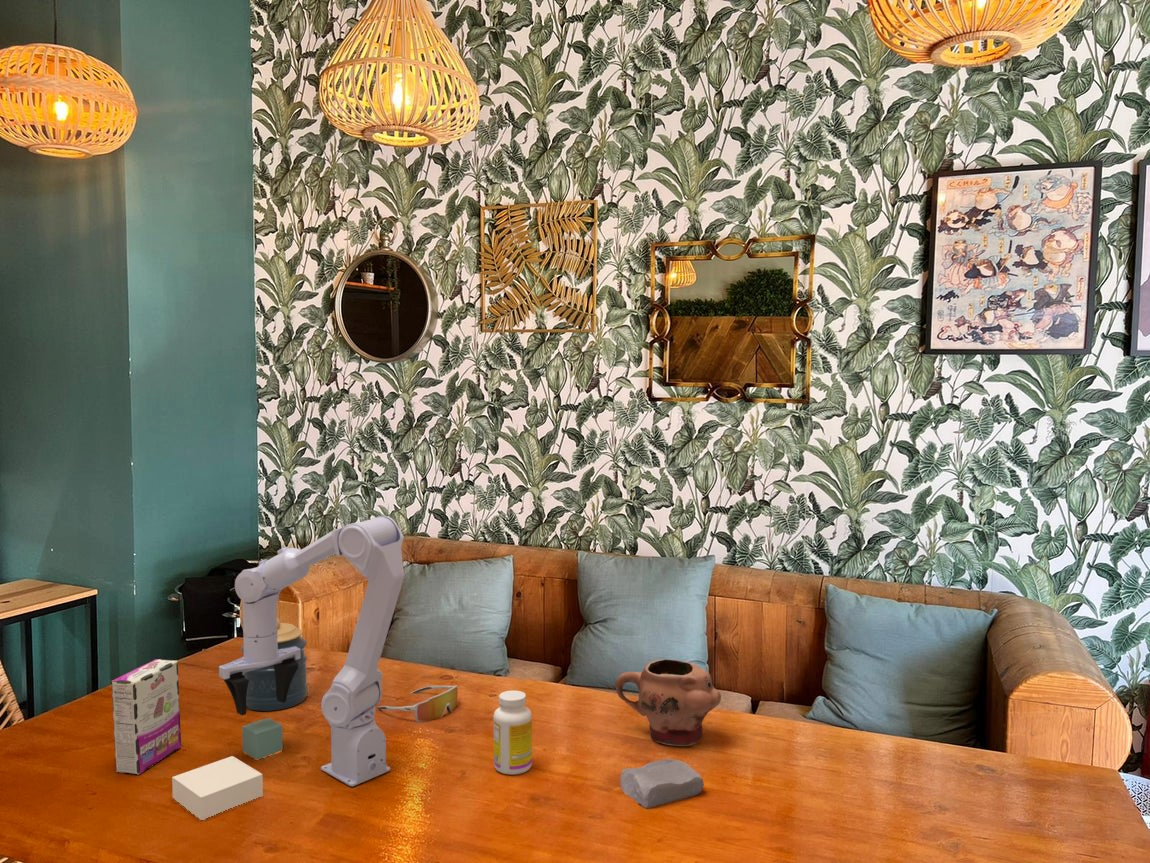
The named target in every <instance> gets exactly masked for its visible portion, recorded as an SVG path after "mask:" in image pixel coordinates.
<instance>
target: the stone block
mask: <svg viewBox="0 0 1150 863" xmlns="http://www.w3.org/2000/svg"><path fill="white" fill-rule="evenodd" d="M704 785H705V783H704V780H703V778H702V775H701V774H699V773H698V772H697V771H696V770H694V769H693V768H692V767H691V766H690V765H689V764H688V763H686V762H684V761H683V760H679V759H673V758H664V759H661V760H655V761H651V762H648V763H646V764H644V765H643V766H638V767H632V768H631V767H629V768H624V769H622V770H621V775H620V788H621V790H622V792H623V793H624V794H625V795H627V796H628V797H629V798H631V799H633V800H635V802H636V803H637V804H639V805H641V806H642V808H644V809H651V808H655V807H659V806H662V805H665V804H670V803H673V802H678V801H681V800H685V799H688V798H692V797H695V796H697V795H699V794H701V793H702V791H703V789H704Z"/></svg>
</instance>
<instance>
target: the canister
mask: <svg viewBox="0 0 1150 863" xmlns="http://www.w3.org/2000/svg"><path fill="white" fill-rule="evenodd" d="M302 634H303V630H302V629H301V628H299V627H297V626H296V625H294V624H293V623H287V622H281V620H280V619H279V617H277V641H278V649H285V648H290V647H297V648H300V659H297V660H295V661H296V662H298V669H297V671H296V673H295V675H294V677H293V679H292V681H291V684H290V687H289V690H288V694H287V699H286V702H284V703H282V702H280V701H278V700H277V697H276V677H275V671H274V666H273V665H271V666H267V667H263V668H260V669H256V670H252V671H249V672H245V673H243V675H244V678H246V679H248V680H249V682H248V687H247V695H246V704H247V709H248V710H252V711H258V712H270V711H271V712H272V711H280V710H285V709H289V708H292V707H294V706H295V707H296V706H297V705H299V704H301V703H302V702H304V701H305V699H306V698H307V692H308V683H307V660H308V656H307V655H306V654H305V648H306V646H307V645H308V644H307V640H306V639H305V638H304V637H302ZM240 651H241V653H242V654H243V655H244V644H242V646H241V648H240Z"/></svg>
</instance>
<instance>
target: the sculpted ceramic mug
mask: <svg viewBox="0 0 1150 863" xmlns="http://www.w3.org/2000/svg"><path fill="white" fill-rule="evenodd" d="M614 683H615V685H614V686H615V687H614V688H615V691H616V693H617V696H618V697H619V698H620V700H622V701H624V702H625V703H626V704H627V705H628V706H629V707H630V708H632V709H633V710H634V711H636V712H637V713H638V714H639V715H641V716H643V717H645V716H646V719H647V721H648V723H649V731H650V737H651V739H652V740H653V741H654V742H655V743H656V742H657V743H661V744H663V745H666V746H667V745H668V746H678V747H687V746H693V745H696V744H697V743H698V742H700V741H701V739H702V737H703V721H704V718H706V716H707V715H708V713H709V712H711V711H712V710H714V709H715V708H717V706H719V705H720V703H721V699H722V694H721V692H720V691H719V690H718V689H717V688H715V687H714V685H713V681H712V676H711V674H710V673H709V671H707V670H706V669H703V668H702V667H700V666H699V665H697V664H695V663H693V662H687V661H682V660H675V659H663V658H662V659H657V660H654V661H650V662H648V663H646V665H645V666H644V668H643V671H626V672H623V673H621V674H620V675H619V676H618V677H617V679H616V681H615V682H614ZM626 683H634V684H635V685H636V686H637V688H638V700H635V701H634V700H630V699H628V698H627V697H626V696H625V695H624V693H623V688H624V685H625V684H626Z"/></svg>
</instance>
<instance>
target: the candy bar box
mask: <svg viewBox="0 0 1150 863" xmlns="http://www.w3.org/2000/svg"><path fill="white" fill-rule="evenodd" d="M178 662H179V661H178V660H173V659H161V658H160V659H159V658H158V659H153V660H152V661H150V662H148V663H146V664H143V665H141V666H139V667H137V668H135V669H133V670H131V671H129V672H127V673H125V674H122V675H121V676H119V677H117V678H115V679H113V680H111V691H112V692H111V693H112V696H111V698H112V716H113V718H112V719H113V735H114V753H115V755H114V757H115V759H114V760H115V771H116V773H118V772H119V773H118V774H123V773H129V774H128V775H134V774H137V775H138V776H139V774H140V775H141V773H142V772H143V773H144V771H145V770H146V771H147V769H148V768H149V767H151V766H152V765H154V764H155V763H157V762H158V763H160V762H161V761H163V760H164V759H166V758H167V757H169V756H170V755H172V754H173V753H174V751H175V750H176V751H177V749H178V750H179V749H180V748H182V733H181V732H182V730H181V729H182V728H181V713H180V712H181V710H180V709H181V708H180V706H181V705H180V686H179V668H178V667H179V665H178V664H179V663H178ZM176 751H175V752H176ZM171 753H172V754H171ZM169 754H170V755H169ZM168 755H169V756H168ZM165 757H166V758H165ZM163 758H164V759H163ZM162 759H163V760H162ZM160 760H161V761H160ZM159 761H160V762H159ZM158 763H157V764H158ZM155 765H156V764H155ZM155 765H154V766H155ZM152 767H153V766H152ZM152 767H151V768H152ZM149 769H150V768H149ZM149 769H148V770H149ZM146 771H145V772H146ZM143 773H142V774H143Z"/></svg>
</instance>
